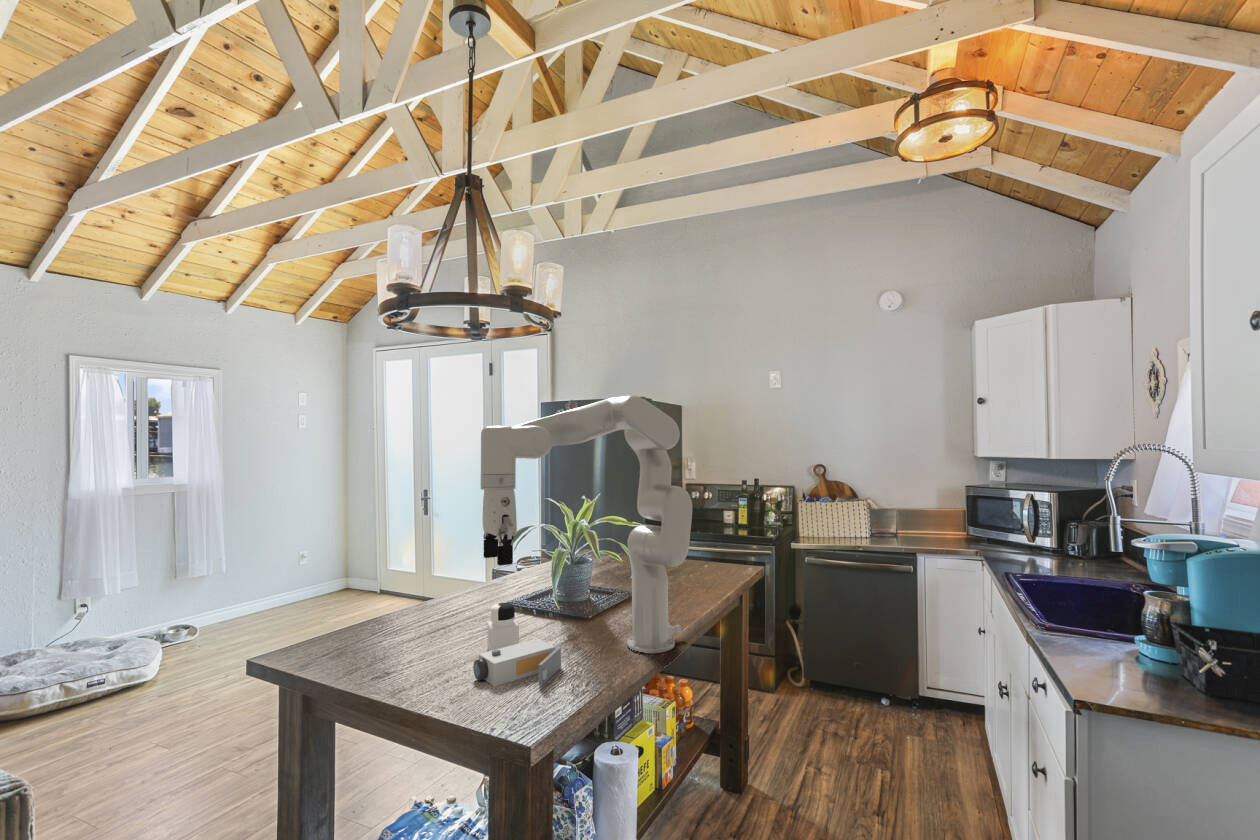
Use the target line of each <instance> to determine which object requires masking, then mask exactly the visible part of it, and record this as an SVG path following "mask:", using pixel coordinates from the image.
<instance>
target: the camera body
mask: <svg viewBox="0 0 1260 840" xmlns="http://www.w3.org/2000/svg"><path fill="white" fill-rule="evenodd" d="M555 649H556V646H555V645H552V644H551V643H549V642H547V641H544V640H542V639H541V638H535V639H531V640H528V641H527V640H526V641H524V642H519V644H515V645H511V646H507V647H504V648H500V649H496V650H492V651H489V650H488V651H485V652H481V653H478V658H477V659H475V660H474V662H473V667H472V668H473V669H472V670H473V674H474V677H475V679H476V680H477V681H481V680H484V681H486V682H487V683H489V684H491V685H492V686H493V687H497V686H501V685H504V684H506V683H511V682H514V681H517V680H520V679H523V678H527V677H530V676H533V675H538V664H540V663H541V662H542V661H543V660H544V659H545V658H546V657H547V656H549V655H550V654H551V653H552V652H553V651H554V650H555Z"/></svg>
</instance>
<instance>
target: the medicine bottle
mask: <svg viewBox="0 0 1260 840" xmlns="http://www.w3.org/2000/svg"><path fill="white" fill-rule="evenodd" d="M515 608H516V607H515V605H514V604H513V603H510V602H499V603H495V604H494V605H492V606H491V608H490V621H487V623H486V625H487V633H486V634H487V640H486V641H487V650H488V651H492V650H496V649H500V648H504V647H507V646H511V645H515V644H519V643H520V626H519V624H518V622H517V621H516V619H515V618H516V616H515V610H516V609H515Z"/></svg>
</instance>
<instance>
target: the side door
mask: <svg viewBox="0 0 1260 840" xmlns="http://www.w3.org/2000/svg"><path fill="white" fill-rule="evenodd" d="M561 667H562V647H561V646H558V647H555V650H554V651H553V652H552V653H551V654H550V655H549V656H547V657H546V658H545V659H544V660H543V661H542V662H541V663H540V664H538V673H537V675H538V677H537V678H538V686H539V687H543V685H545V684H546V682H547V681H549V679H551V678H552V677H553V675H555V674H556V673H557V672H558V671H559V670H560V669H561Z"/></svg>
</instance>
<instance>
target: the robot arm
mask: <svg viewBox="0 0 1260 840" xmlns="http://www.w3.org/2000/svg"><path fill="white" fill-rule="evenodd" d="M622 430H623V431H624V432H623V433H624V438H625V441H626V443H627V444H628V446H629V447H630V448H631V450H632V451H633V452H634V453H635V454H636V456H637V459H638V462H639V468H640V469H639V481H638V489H637V491H638V492H637V499H636V500H637V503H636V508H637V512H638V514H639V515H640V516H641V517H642V518H644V519H648V520H652V521H657V522H661V526H660V525H654V524H641V525H638V526H636V527H634V528H633V529H632V530H631V531H630V532H629V535H628V538H627V551H628V557H629V561H630V570H631V609H632V610H631V614H632V619H631V620H632V621H631V622H632V636H631V637H629V638H628V639H627V640H626V646H628V647H629V648H630V649H629V648H628V647H627V648H628V649H629V650H631V649H632V650H631V651H633V650H635V651H634V652H636V651H639V652H638V653H640V652H644V653H643V654H659V653H665V652H668V651H671V650H672V649H674V648H675V645H676V644H675V639H674V638H673V635H674V634H677V633H681V632H682V626H681V625H680V624H676V625H673V626H672V625H671V624H669V591H668V590H669V589H668V588H669V579H668V573H667V569H666V567H678V566H679V565H682V564H683V563H684V562H685V560H686V558H687V556H688V553H689V549H690V541H691V533H692V532H691V530H692V520H693V502H692V498H691V496H690V494H689V492H688V491H687V490H686V489H685V488H683V487H681V486H679V485H673V484H672V473H673V472H672V462H671V458H670V456H669V454H668V452H667V450H670V449H673V448H674V447H675V446H676V445H677V444H678V442H679V441H680V436H681V434H680V429H679V425H678V424H677V422H676V421H675V420H674V419H673V418H672V417H671V416H669V414H667V413H665V412H663V411H662V410H661V409H659V408H658V407H657V406H655V405H654V404H652V403H650V402H649V401H648V400H646V399H644V398H642V397H640V396H637V395H623V396H616V397H608V398H605V399H602V400H599V401H596V402H593V403H589V404H586V405H582V406H580V407H575V408H572V409H568V410H565V411H562V412H561V411H560V412H559V413H555V414H552V415H549V416H544V417H541V418H537V419H534V420H530V421H527V422H524V423H520V424H517V425H513V426H510V425H509V426H508V425H488V426H484V427H483V428H481V432H480V490H483V496H482V497H483V499H482V529H483V531H484V532H483V558H485V559H489V558H492V559H493V558H497V559H496V560H497V566H509V565H513V563H514V538H515V536H514V535H515V534H516V533H517V531H518V528H517V525H518V523H517V502H516V493H515V489H516V488H517V487H516V484H517V483H516V482H517V481H516V471H517V469H516V465H517V463H516V461H517V459H527V460H530V459H531V460H532V459H533V460H534V459H540V458H543V457H545V456H547V455H548V454H549V452H551V450H552V448H553V447H557V446H569V445H577V444H582V443H585V442H588V441H591V440H594V439H596V438H599V437H602V436H605V435H609V434H612V433H614V432H617V431H622Z"/></svg>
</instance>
